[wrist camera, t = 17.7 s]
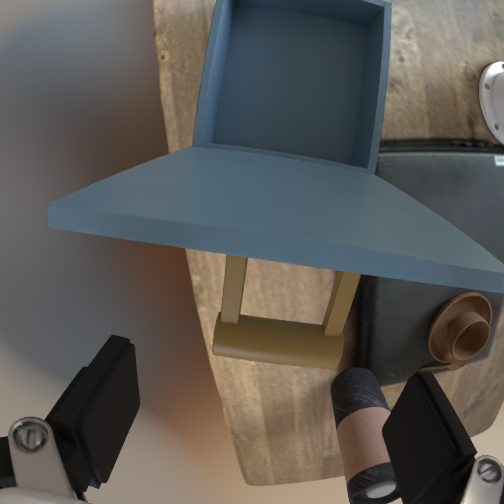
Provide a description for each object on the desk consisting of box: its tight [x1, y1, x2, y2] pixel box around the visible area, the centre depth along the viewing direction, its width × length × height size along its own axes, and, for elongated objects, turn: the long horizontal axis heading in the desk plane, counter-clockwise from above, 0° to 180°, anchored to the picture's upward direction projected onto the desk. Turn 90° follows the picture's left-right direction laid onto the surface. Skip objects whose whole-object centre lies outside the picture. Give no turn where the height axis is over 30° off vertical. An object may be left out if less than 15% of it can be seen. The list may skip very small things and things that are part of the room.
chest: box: [192, 0, 392, 175], centre depth 27 cm, size 19×17×7 cm
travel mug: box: [331, 368, 401, 504], centre depth 34 cm, size 8×8×20 cm
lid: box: [47, 146, 504, 369], centre depth 19 cm, size 19×17×6 cm
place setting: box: [421, 292, 492, 370], centre depth 36 cm, size 18×20×6 cm
